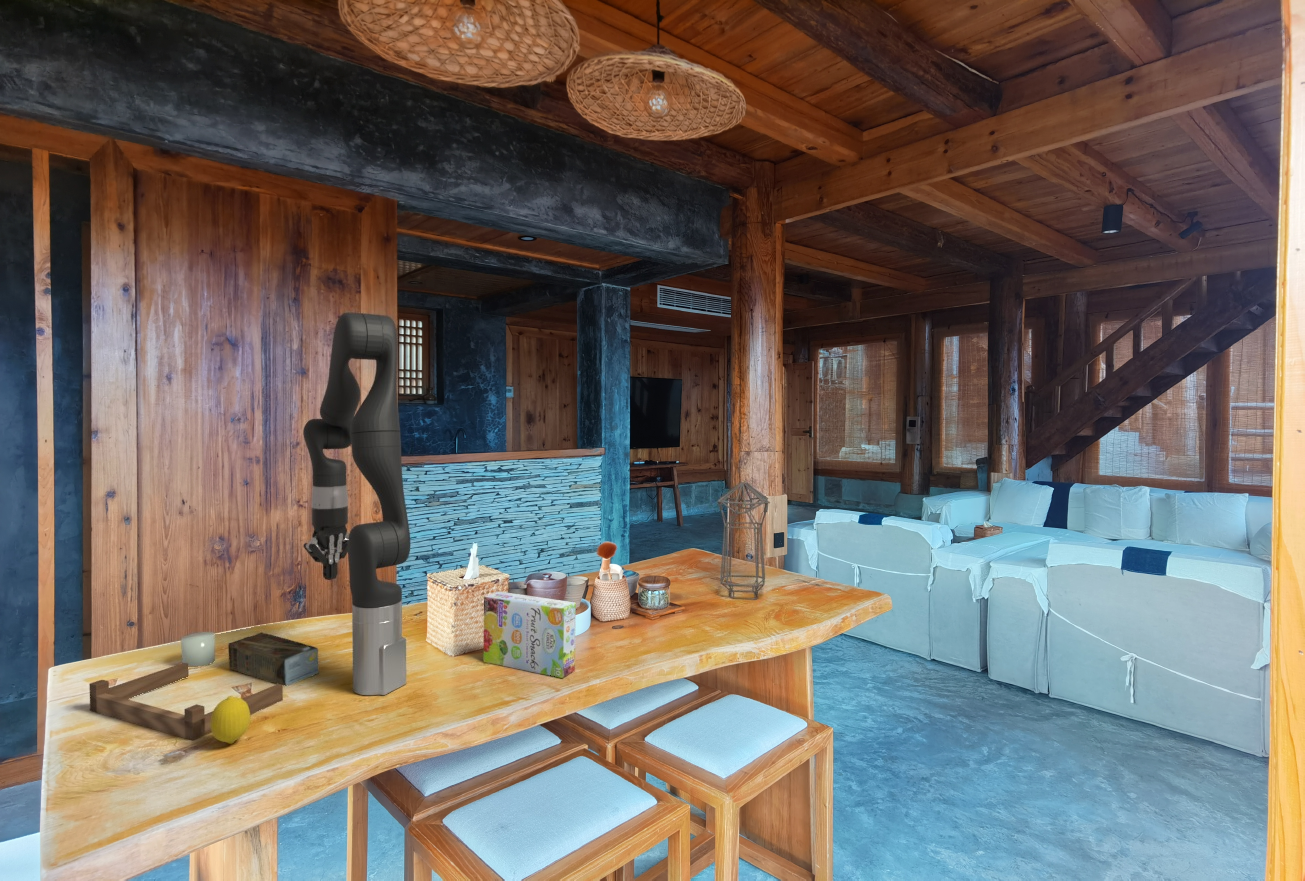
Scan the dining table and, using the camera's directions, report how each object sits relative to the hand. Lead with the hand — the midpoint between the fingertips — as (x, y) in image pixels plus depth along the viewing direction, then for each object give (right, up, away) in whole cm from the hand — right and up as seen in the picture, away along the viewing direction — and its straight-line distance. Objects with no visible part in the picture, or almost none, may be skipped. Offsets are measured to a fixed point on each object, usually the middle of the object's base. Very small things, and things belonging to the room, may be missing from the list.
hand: (330, 578), depth 152 cm
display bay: (-12, -18, -29) cm, 36 cm away
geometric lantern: (+103, -16, +50) cm, 115 cm away
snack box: (+48, -18, -9) cm, 52 cm away
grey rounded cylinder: (-24, -17, -9) cm, 31 cm away
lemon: (+5, -18, -43) cm, 47 cm away
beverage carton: (-6, -17, -13) cm, 23 cm away
